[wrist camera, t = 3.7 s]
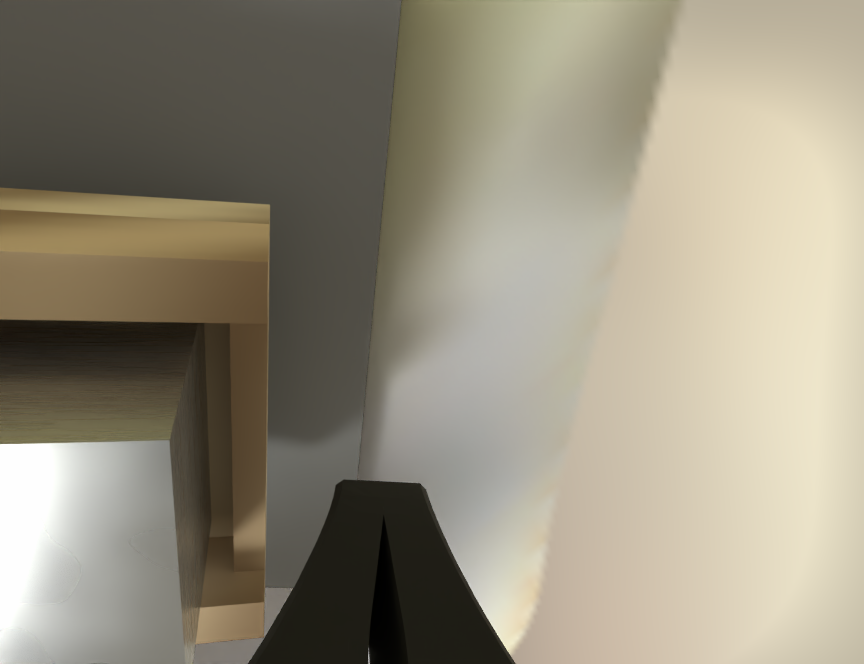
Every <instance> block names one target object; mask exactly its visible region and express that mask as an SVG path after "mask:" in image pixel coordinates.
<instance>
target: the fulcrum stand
mask: <svg viewBox="0 0 864 664" xmlns="http://www.w3.org/2000/svg"><path fill="white" fill-rule="evenodd" d="M400 11H401V0H0V188H14V189H30V190H46V191H62V192H77V193H93V194H109V195H125V196H141V197H157V198H173V199H189V200H205V201H221V202H237V203H253V204H269V205H270V248H269V331H268V414H267V497H266V557H265V587H275V588H294V586H295V584H296V582H297V581H298V579H299V576H300V574H301V572H302V570H303V568H304V566H305V564H306V562H307V560H308V558H309V556H310V554H311V552H312V550H313V548H314V546H315V544H316V542H317V539H318V537H319V535H320V532H321V530H322V528H323V525H324V523H325V520H326V518H327V515H328V512H329V509H330V506H331V503H332V500H333V496H334V491H335V486H336V484H338V483H339V482H341V481H342V480H343V479H345V480H357V479H358V468H359V457H360V446H361V435H362V424H363V413H364V402H365V392H366V381H367V370H368V359H369V348H370V337H371V326H372V315H373V304H374V294H375V283H376V272H377V261H378V250H379V239H380V228H381V217H382V207H383V196H384V185H385V174H386V163H387V152H388V141H389V130H390V120H391V109H392V98H393V87H394V76H395V65H396V54H397V43H398V33H399V22H400Z"/></svg>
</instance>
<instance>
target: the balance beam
mask: <svg viewBox="0 0 864 664" xmlns="http://www.w3.org/2000/svg"><path fill="white" fill-rule="evenodd" d="M269 248H270V205H269V204H253V203H237V202H221V201H205V200H189V199H173V198H157V197H141V196H125V195H109V194H93V193H77V192H62V191H46V190H30V189H14V188H0V319H9V320H67V321H124V322H182V323H204V333H205V360H206V386H207V412H208V439H209V465H210V492H211V518H212V520H211V528H210V536H209V544H208V551H207V559H206V567H205V575H204V583H203V590H202V598H201V606H200V614H199V622H198V629H197V637H196V644H202V643H212V642H222V641H232V640H242V639H252V638H262V637H264V603H265V557H266V497H267V414H268V331H269Z"/></svg>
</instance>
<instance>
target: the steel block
mask: <svg viewBox="0 0 864 664" xmlns="http://www.w3.org/2000/svg"><path fill="white" fill-rule="evenodd" d="M211 520H212V518H211V492H210V465H209V439H208V412H207V386H206V360H205V333H204V323H182V322H124V321H67V320H9V319H0V664H193V661H194V653H195V645H196V637H197V629H198V622H199V614H200V606H201V598H202V590H203V583H204V575H205V567H206V559H207V551H208V544H209V536H210V528H211Z"/></svg>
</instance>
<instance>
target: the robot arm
mask: <svg viewBox="0 0 864 664" xmlns="http://www.w3.org/2000/svg"><path fill="white" fill-rule="evenodd" d="M368 648H369V656H370V664H515V662H514V660H513V659H512V657H511V656H510V654H509V653H508V651H507V650H506V648H505V647H504V645H503V643H502V642H501V640H500V638H499V637H498V635H497V633H496V632H495V630H494V629H493V627H492V625H491V624H490V622H489V620H488V619H487V617H486V615H485V614H484V612H483V610H482V608H481V607H480V605H479V603H478V601H477V600H476V598H475V596H474V594H473V592H472V590H471V588H470V587H469V585H468V583H467V581H466V579H465V577H464V575H463V573H462V572H461V570H460V568H459V566H458V564H457V562H456V560H455V558H454V556H453V554H452V552H451V550H450V548H449V546H448V543H447V541H446V539H445V537H444V535H443V533H442V530H441V528H440V526H439V523H438V521H437V519H436V516H435V514H434V511H433V509H432V506H431V503H430V501H429V498H428V495H427V492H426V489H425V488H424V487H423V486H422V485H421V484H420V483H401V482H382V481H363V480H345V479H343V480H342V481H341V482H339V483H338V484H336V486H335V491H334V496H333V500H332V503H331V506H330V509H329V512H328V515H327V518H326V520H325V523H324V525H323V528H322V530H321V532H320V535H319V537H318V539H317V542H316V544H315V546H314V548H313V550H312V552H311V554H310V556H309V558H308V560H307V562H306V564H305V566H304V568H303V570H302V572H301V574H300V576H299V579H298V581H297V582H296V584H295V586H294V588H293V590H292V592H291V593H290V595H289V597H288V599H287V600H286V602H285V604H284V606H283V607H282V609H281V611H280V612H279V614H278V616H277V618H276V619H275V621H274V623H273V624H272V626H271V628H270V630H269V631H268V633H267V635H266V636H265V638H264V640H263V641H262V643H261V644H260V646H259V648H258V649H257V651H256V652H255V654H254V655H253V657H252V659H251V660H250V662H249V663H248V664H368Z"/></svg>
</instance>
